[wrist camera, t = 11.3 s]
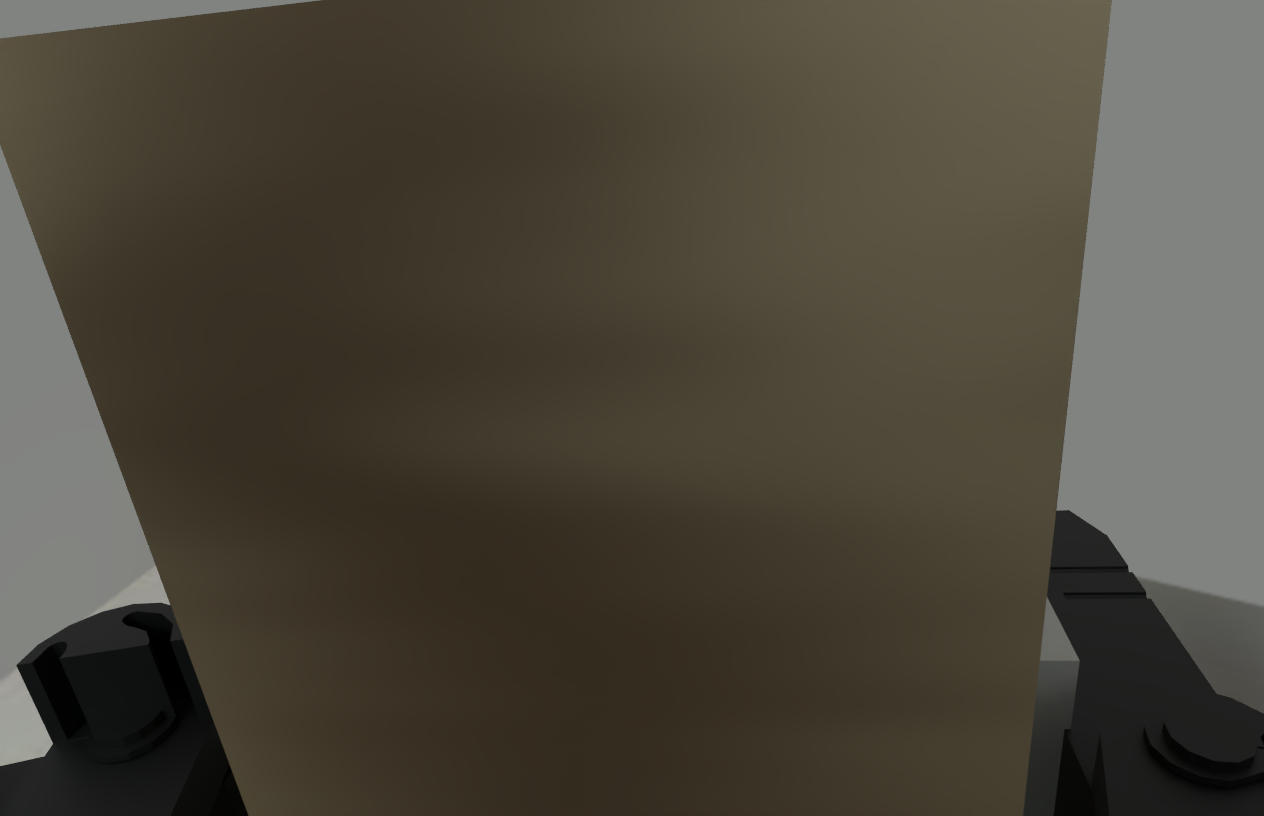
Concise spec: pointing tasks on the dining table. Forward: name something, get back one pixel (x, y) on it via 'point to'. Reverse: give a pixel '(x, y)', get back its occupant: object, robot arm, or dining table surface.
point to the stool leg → (585, 385)
